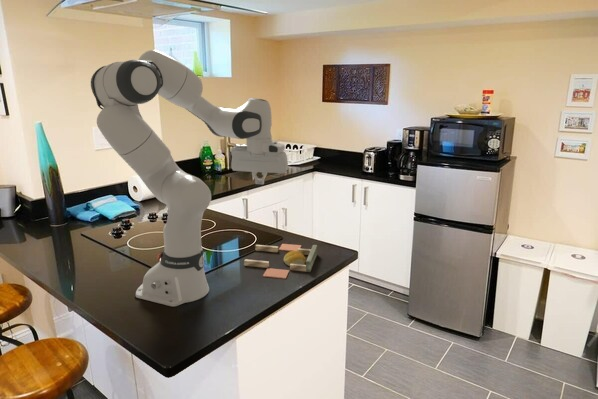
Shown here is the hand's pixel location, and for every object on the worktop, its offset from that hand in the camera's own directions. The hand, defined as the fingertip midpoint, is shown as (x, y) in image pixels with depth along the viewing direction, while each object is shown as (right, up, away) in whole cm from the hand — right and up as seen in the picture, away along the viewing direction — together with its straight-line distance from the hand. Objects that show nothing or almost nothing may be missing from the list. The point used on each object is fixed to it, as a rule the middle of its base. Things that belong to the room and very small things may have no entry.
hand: (259, 183), depth 150 cm
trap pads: (+8, -28, +7) cm, 30 cm away
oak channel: (+8, -28, +7) cm, 30 cm away
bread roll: (+13, -29, +5) cm, 32 cm away
